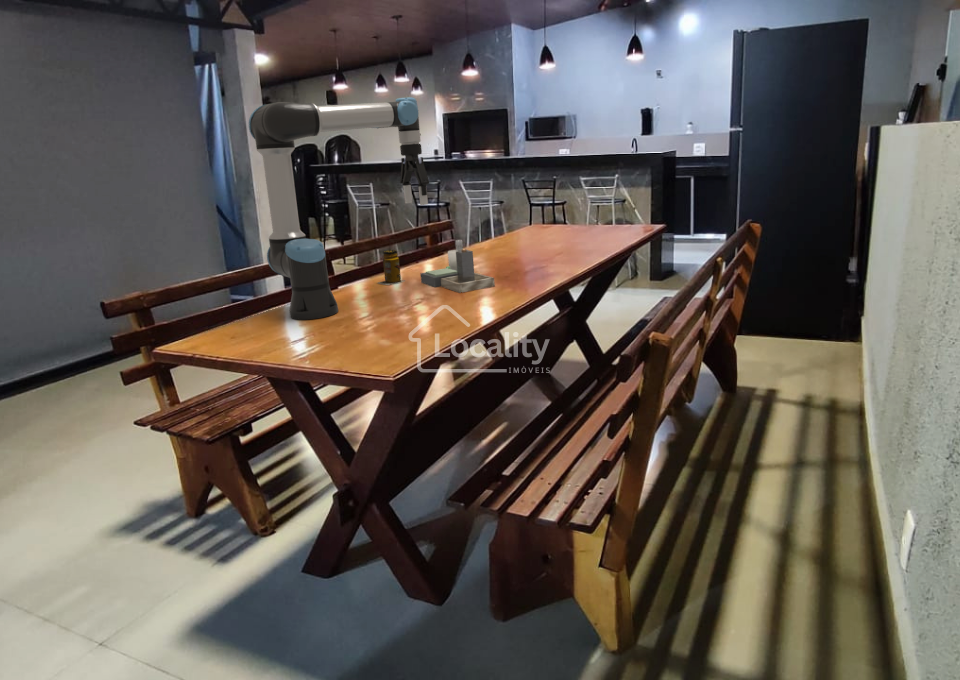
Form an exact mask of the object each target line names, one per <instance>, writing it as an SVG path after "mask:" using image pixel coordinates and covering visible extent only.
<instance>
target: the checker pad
mask: <svg viewBox="0 0 960 680" xmlns="http://www.w3.org/2000/svg"><path fill="white" fill-rule="evenodd" d="M425 272H426V274H429V275H432V276H435V277H438V276H443V275H449V274H454V273H457V271H456V270H452V269H449V268H446V267H445V268H440V269H435V270H428V271H427V270H426V271H425Z"/></svg>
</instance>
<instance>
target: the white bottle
mask: <svg viewBox="0 0 960 680" xmlns="http://www.w3.org/2000/svg"><path fill="white" fill-rule="evenodd" d="M461 249H464V246H463V240H462V239H455V249H452V250H448V251H447V258H448V266H450V269H453V270H456V271H457V261H456V252H457V251H462V250H461Z"/></svg>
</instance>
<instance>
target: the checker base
mask: <svg viewBox="0 0 960 680" xmlns="http://www.w3.org/2000/svg"><path fill="white" fill-rule="evenodd" d="M445 268H449V269H450V266H449V265H447V266H445ZM452 270H453V269H452ZM426 272H427V271H425V272H420V282H421V284H423V285H424V284H425V285H428V286H430V287H433V288H439V287H441V278H447V277H453V276H458V273H454V274H449V275H443V276H438V277H435V276H432V275H429V274H426Z"/></svg>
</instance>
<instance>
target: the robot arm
mask: <svg viewBox="0 0 960 680" xmlns="http://www.w3.org/2000/svg"><path fill="white" fill-rule="evenodd" d="M385 128H397V129H398V139H399V140H398V141H399V144H400V146H399V148H400V155H401V156H404V157H402V158H401V159H400V160H401V167H400V178H399V179H400V180H399V183H400V184H402V187H403V195H404V204H412V203H413V194H412V183H411V179H412V174H414V175H415V178H416V180H417V182H418V185H417V187H418V192H419V193H418V195H419V206H426V205H429V201H428V200H429V199H428V190H427V186H428V185H429V184H430V180H429V176H428V173H427V170H426V167H425V164H424V157H422V156H420V157H419V155H422V153H423V152H422V151H423V150H422V149H423V148H422V144H421V141H422V140H421V136H422V135H421V132H420V129H421V128H420V119H419V107H418V103H417V98H414V97H398V98H396V99H395V101H385V102H369V103H368V102H366V103H352V104H350V103H349V104H334V105H333V104H331V105H330V104H329V105H316V104H315V103H314V102H291V101H290V102H289V101H277V102H273V103H268V104H263V105H261V106H259V107H257V108H256V109H255V110H254V111H252V113H251V114H250V116H249V118H248V130H249V132H250V135H251V137H252V138H253V139H254V140H255V141H254V142H255V148H256V151H257V152H258V153H259V154H260V155H261V156H262V161H263V168H264V177H265V184H266V189H267V190H266V191H267V199H268V204H269V205H268V206H269V213H270V218H271V219H270V220H271V221H270V222H271V228H272V232H271V234H270V235H269V237H268V241H269V247H268V249H267V252H266V261H267V264H268V266H269V267H270V268H271V270H272V271H274V272H275V273H276V274H278V275H279V276H282V277H285V278H289V279H290V286H291V293H292V294H291V297H290V298H291V299H290V304H289V317H290V319H294V320H303V321H304V320H305V321H307V320H316V319H321V318H323V319H324V318H326V317H330V316H333V315H335V314H337V313H338V312H339V306H338V303H337V301H336V298H335V296H334V295H333V292H332V290H331V287H330V281H329V273H328V267H327V265H328V264H327V258H326V251H325V246H324V244H323V242H322V241H320V240H318V239H315V238H306V234H305V233H304V231H302V230H301V229H300V228H301V226H300V219H299V211H298V204H297V203H298V202H297V195H296V187H295V178H294V171H293V162H292V156H291V155H292V154H293V152H294V150H295V148H296V147H295V141H297V140H300V139H304V138H309V137H317V136H319V134H320V133H325V132H336V131H337V132H338V131H351V130H363V129H364V130H365V129H377V130H378V129H385Z"/></svg>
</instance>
